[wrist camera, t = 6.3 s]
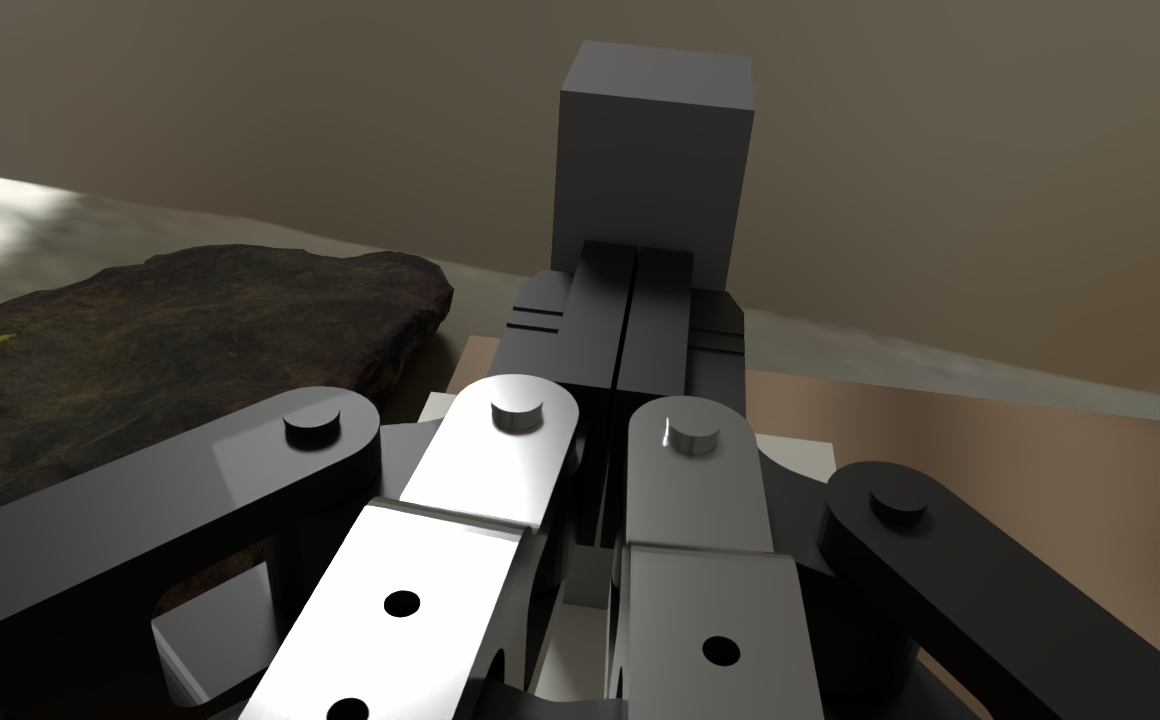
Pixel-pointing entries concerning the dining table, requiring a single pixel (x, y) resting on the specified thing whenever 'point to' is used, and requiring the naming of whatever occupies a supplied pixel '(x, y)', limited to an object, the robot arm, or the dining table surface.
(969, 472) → the board
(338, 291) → the stone
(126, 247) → the dining table surface
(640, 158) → the lid
